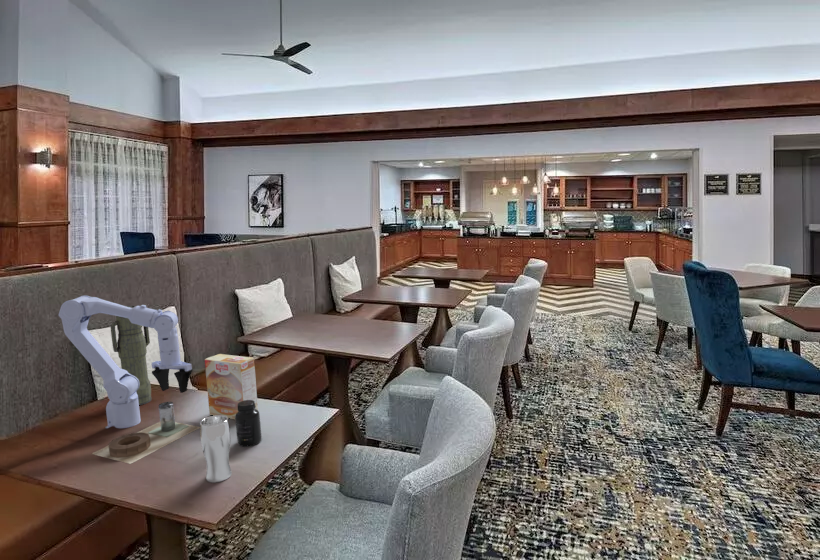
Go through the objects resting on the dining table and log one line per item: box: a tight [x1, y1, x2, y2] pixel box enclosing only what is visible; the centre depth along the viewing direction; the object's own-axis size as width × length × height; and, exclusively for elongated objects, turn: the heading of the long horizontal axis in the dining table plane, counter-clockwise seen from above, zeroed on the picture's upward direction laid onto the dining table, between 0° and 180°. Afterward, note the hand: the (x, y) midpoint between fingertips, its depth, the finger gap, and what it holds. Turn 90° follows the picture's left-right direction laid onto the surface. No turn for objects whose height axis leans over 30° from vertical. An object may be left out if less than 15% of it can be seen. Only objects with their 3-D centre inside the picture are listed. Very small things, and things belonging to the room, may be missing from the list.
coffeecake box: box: [204, 353, 259, 420], centre depth 164 cm, size 15×7×20 cm, turn 67°
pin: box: [158, 401, 176, 432], centre depth 152 cm, size 4×4×8 cm
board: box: [91, 421, 200, 465], centre depth 146 cm, size 16×24×4 cm, turn 156°
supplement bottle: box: [234, 400, 263, 448], centre depth 144 cm, size 7×7×12 cm
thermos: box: [110, 305, 152, 406], centre depth 177 cm, size 9×12×35 cm
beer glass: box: [199, 415, 233, 483], centre depth 125 cm, size 7×7×15 cm
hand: (174, 390), depth 160 cm, fingers open, 7 cm apart
